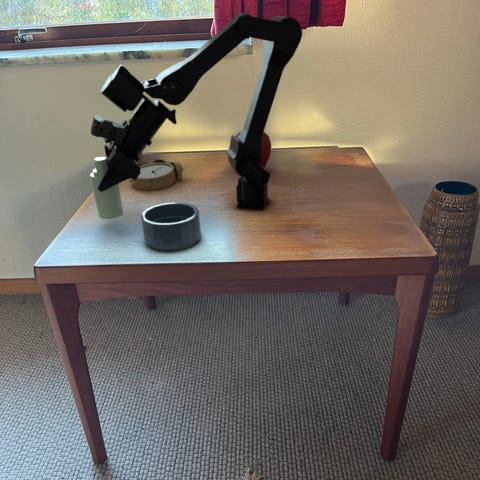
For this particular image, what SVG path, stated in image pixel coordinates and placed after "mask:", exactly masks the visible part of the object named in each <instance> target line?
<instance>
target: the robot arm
mask: <svg viewBox="0 0 480 480" xmlns="http://www.w3.org/2000/svg"><path fill="white" fill-rule="evenodd" d="M248 38H253V39H256V40H262V42H263V43H262V64H261V68H260V71H259V73H258V77H257V81H256V85H255V88H254V91H253V95H252V98H251V101H250V104H249V108H248V111H247V114H246V118H245V121H244V124H243V128H242V130H241V131H240V132H241V133H240V134H239V136H238V137H236V135H233V134H232V135H231V137H230V142H229V147H228V149H227V150H226V154H227V156H228V157H227V162H228V163H229V165H230V167H231V168H232V169H233V170H234V172H236V174H238V176H240V177H239V178H238V179H237V185H236V186H235V189H236V190H235V191H236V192H235V193H236V202H237V204H236V208H238V209H247V210H257V211H263V210H264V209H265V208H266V207H267V205H268V204H269V203H270V202H271V198H270V197H269V186H268V185H269V184H268V183H269V180H270V178H271V173H270V172H269V171H268V170H267V169H266V168H265V167H264V168H263V167H262V166H261V165H260V163H261V157H262V135H263V132H265V130H266V126H267V123H268V120H269V117H270V113H271V111H272V107H273V104H274V101H275V97H276V95H277V92H278V88H279V84H280V82H281V79H282V75H283V72H284V70H285V68H286V66H287V65H288V63H289V62H291V60H292V59H293V57H294V56H295V53H296V52H297V49H298V48H299V45H300V43H301V41H302V38H303V29H302V26H301V23H300V22H299V21H298V20H297V19H296V18H294V17H291V16H284V15H275V16H274V17H272V18H270V19H267V18H263V17H258V16H252V15H251V14H248V13H243V12H239V13H237V14H235V15H234V16H233V18H232V19H231V20H230V21H229V22H228V23H227V24H226V25H224V26H223V27H222V28H221V29H220V30H219V31H218V32H216V33H215V35H212V36H211V38H210V39H208V40H207V41H206V42H205V43H204V44H203V45H202V46H200V47H199V48H198V49H196V51H195V52H193V54H190V56H189V57H187V58H185V59H184V60H182V61H180V62H177V63H175V64H173V65H171V66H169V67H168V68H166V69H164V70H163V71H161V72H160V73H158V75H157V76H156V77H155V78H152V79H148V80H147V79H146V80H143V81H140V80H139V79H138V78H137V77H136V76H135V75H134V74H132V73H131V72H130V71H129V70H128V68H127V67H125V66H124V64H119V66H118V67H117V68H116V69H115V70H114V72H113V73H112V74H111V75H109V76H108V77H107V79H106V81H105V82H104V84H103V85H102V86H101V89H100V94H101V95H102V96H103V97H104V98H106V99H107V100H108V101H110V102H111V103H112V104H113V105H115V106H116V107H117V108H118V109H120V110H121V111H122V112H127V111H129V112H133V111H134V112H133V114H132V115H131V117H130V118H129V119H124V120H123V121H122V122H121V123H120V122H117V121H114V120H112V119H109V118H106V117H102V116H99V115H96V114H95V115H93V119H92V123H91V127H90V134H91V135H92V136H93V137H96V138H102V139H104V140H103V141H104V144H103V148H104V153H105V157H106V159H107V165H108V168H107V170H106V172H105V174H104V176H103V178H102V180H101V182H100V184H99V186H98V190H99V191H101V192H103V191H105V190H107V189H109V188H111V187H113V186H115V185H117V184H118V185H119V184H121V183H122V182H125V181H127V180H131V179H133V180H136V179H137V178H138V176H139V175H140V174H141V171H140V166H141V165H140V164H139V163H140V162H139V161H140V156H139V155H140V154H141V153H142V154H143V151H144V150H145V149H146V147H147V146H148V147H150V146H151V145H152V143H153V141H152V139H153V138H154V137H155V135H156V134H157V133H158V131H159V130H160V128H162V126H163V124H164V123H165V122H166V121H167V120H168V121H169V122H171V124H173V125H177V123H178V122H177V117H176V114H177V110H176V109H175V108H174V107H172V108H169V107H167V106H166V105H165V104H167V105H170V106H180V105H181V104H182V103H183V102H184V101H185V100H186V99H187V98H188V97H189V95H191V93H192V92H193V91H194V89H195V87H196V86H197V85H198V83H199V81H200V80H201V78H202V77H203V76H204V75H205V74H206V73H207V72H209V71H210V70H211V69H212V68H213V67H215V66H216V65H217V64H218V63H219V62H221V61H222V60H223V59H224V58H225V57H226V56H228V54H230V53H231V52H232V51H234V49H235V48H237V47H238V46H239V45H240V44H242V43H243V42H244V41H245V40H247V39H248ZM145 94H146V95H145ZM148 96H149V97H150V98H152V99H155V101H153V100H152V99H150V98H149V97H148ZM160 100H161V101H160ZM141 101H142V102H141ZM162 101H163V102H164V103H163V102H162ZM135 109H136V110H135ZM106 144H108V145H106Z"/></svg>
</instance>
